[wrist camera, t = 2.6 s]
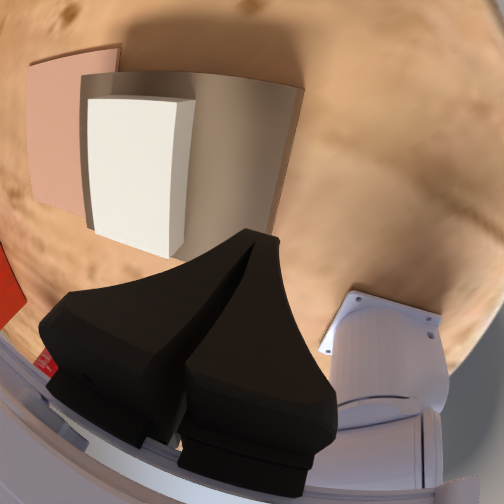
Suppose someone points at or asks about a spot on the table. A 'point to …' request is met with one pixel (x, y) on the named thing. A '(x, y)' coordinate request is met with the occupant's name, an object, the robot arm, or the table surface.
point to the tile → (140, 169)
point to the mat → (59, 126)
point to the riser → (215, 148)
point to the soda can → (46, 363)
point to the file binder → (8, 292)
